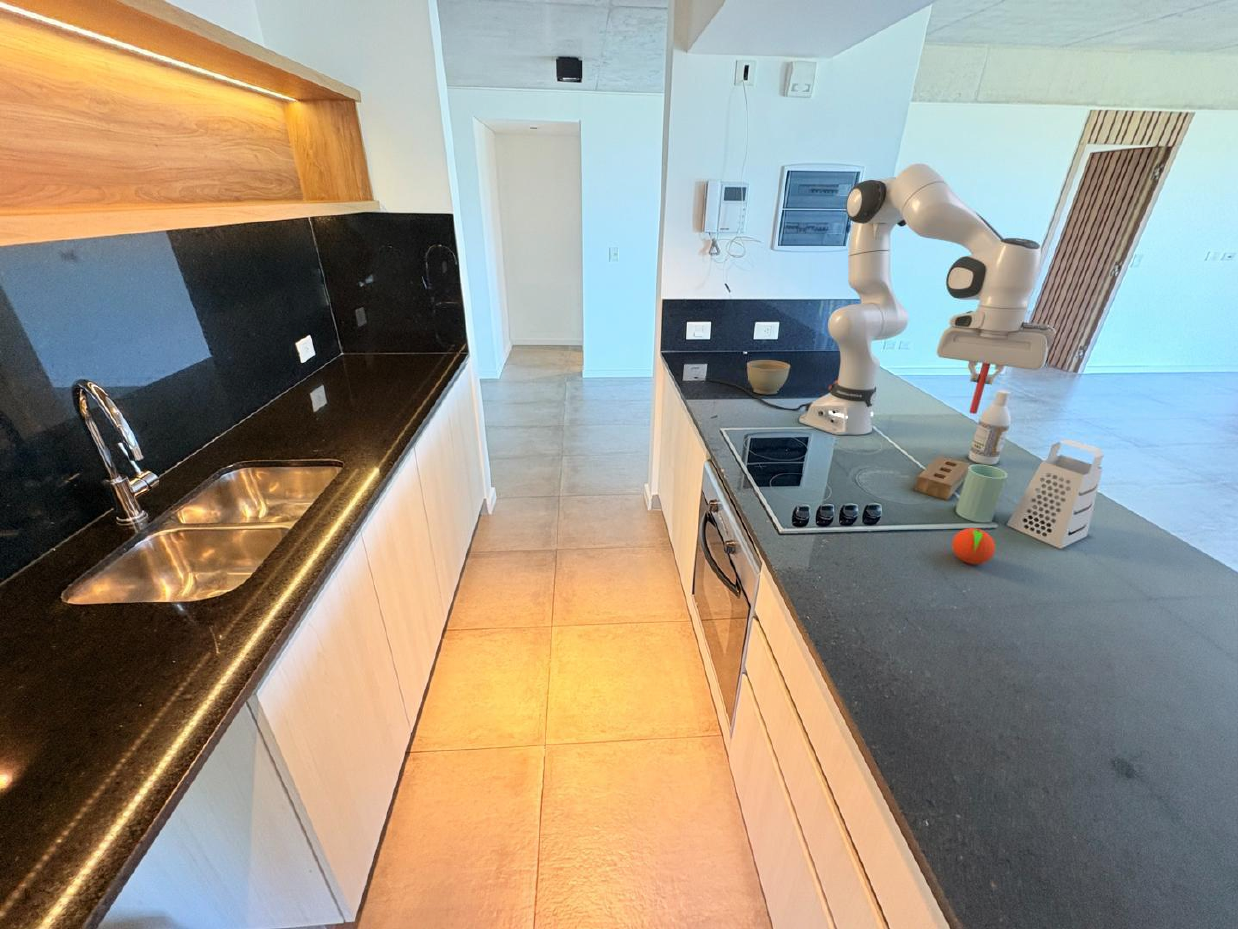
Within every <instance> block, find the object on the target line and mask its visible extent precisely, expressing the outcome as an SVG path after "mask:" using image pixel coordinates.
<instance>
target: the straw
mask: <svg viewBox="0 0 1238 929" xmlns="http://www.w3.org/2000/svg"><path fill="white" fill-rule="evenodd" d="M990 368H991V364H986V363H981V367H980V371H979V374H980V375H979V378H978V382H976V386H975V389H974V394H973V397H972V400H971V404H970V407H969V413H970V414H973V415H976V414H978V411H979V407H980V403H981V399H982V396H983V393H984V389H985V386H986V384H984V383H985V381H986V376H987V375H989V371H990Z"/></svg>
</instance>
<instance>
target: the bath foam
mask: <svg viewBox="0 0 1238 929" xmlns="http://www.w3.org/2000/svg"><path fill="white" fill-rule="evenodd" d="M1010 396H1011V391H1008V390H1004V389H1003V390H1002V389H999V390H997V391H996V393H995V397H994V400H993V403H992V404H991V405H989V407H987V408H986V409H985V410H984V411H983V412H982V414H981V415H980V417H979V419H978V422H977V426H976V429H975V432H974V436H973V438H972V443H971V446H970V449H969V453H968V459H969V460H970V461H972V462H974V463H975V464H980V465H988V466H992V465H993V466H994V465H996V464H997V463H998V462H999V459H1000V457H1001V453H1002V450H1003V447H1004V444H1005V441H1006V439H1007V435H1008V432H1009V429H1010V425H1011V419H1012V418H1011V413H1010V411H1009V408H1008V406H1007V405H1008V403H1009V400H1010Z"/></svg>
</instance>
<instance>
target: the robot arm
mask: <svg viewBox="0 0 1238 929" xmlns="http://www.w3.org/2000/svg"><path fill="white" fill-rule="evenodd" d="M845 210H846V214H847V217H848V219H849V220H850V221H851V222H852V225H851V230H850V235H849V242H848V256H847V257H848V262H847V263H848V264H847V265H848V267H847V268H848V269H847V271H848V274H847V276H848V278H847V279H848V280H847V282H848V285H849V287H850V288H851V289H852V290H854V291H855V292H856V293H857V295H858V297H859V299H860V303H858V304H857V303H856V304H848V305H845V306H842V307H839V308H837V309H835V310H834V311H833V312H832V313H831V314H830V316H829V319H828V320H827V321H828V322H827V330H828V333H829V336H830V337H831V338H832V340H834V342H835V344H837V346H838V350H839V356H840V364H839V372H838V378H837V380H835V381H834V382H833V383H831V384H830V385H829V386H828V387H829V388H828V390H829V393H826V394H825V395H823V396H821V397H819V398H817V399H815V400H814V401H810V402H807V403H803V404H800V405H799V406H798V407H795V408H787V407H783V406H780V405H776V404H772V403H769V402H768V401H765V400H764V399H762V398H760V397H759V396H757V395H755V394H754V393H753V394H752V392H751V391H749V390H748V389H747V388H745V387H743V386H740V385H738V384H735V383H732V382H728V381H724V380H719V381H718V379H713V378H710V379H707V378H708V377H707V378H704V379H705V380H708V381H710V382H714V383H720V384H725V385H729V386H733V387H736V388H738V389H740V390H742V391H744V392H746V393H747V394H749V395H750V396H752V397H753V398H754V399H756V400H757V401H759V402H761V403H763V404H765V405H767V406H769V407H772V408H776V409H779V410H783V411H791V412H793V411H794V412H796V411H800V410H801V409H802V408H803V407H804V408H805V409H804V411H805V413H803V414H801V415H800V416H799V420H798V421H799V423H801V424H804V425H807V426H810V427H812V428H815V429H818V430H822V431H824V432H827V433H829V434H833V435H835V436H836V435H837V436H844V435H854V436H855V435H856V436H857V435H858V436H860V435H866V434H867V435H868V434H869V433H871V432H872V431H873V427H872V426H873V425H872V424H873V423H872V417H873V416H874V412H873V406H874V403H875V399H876V395H877V393H876V392H877V380H878V375H879V370H880V365H881V364H880V360H879V358H878V357H876V356H875V355H874V354H873V352H872V341H883V340H888V339H891V338H894V337H897V336H898V335H899V336H900V335H901V334H902V333H903V332H904V331H905V330H906V328H907V326H908V323H909V314H908V310H907V309H906V307H905V306H903V305H902V304H901V303H900V302H899V300H898V298H897V297H896V294H895V292H894V288H893V285H892V284H893V283H892V281H891V234H892V230H893V229H894V227H895V226H896V225H897V226H899V227H901V228H903V227H904V226H906V225H907V227H908V228H909V229H910V230H911V231H912V232H913V233H915V235H918V236H919V237H921V238H925V239H933V240H938V241H945V242H948V243H953V244H957V245H958V246H959V245H960V246H961V247H964V248H965V249H967V250H968V252H969V253H970V254H968V255H965V256H961V257H959V258H958V259H956V260H955V262H953V264H952V265H951V266H950V267H949V270H948V272H947V275H946V279H945V285H946V290H947V292H948V294H949V295H950V296H951V297H953V298H954V299H958V300H962V301H970V300H971V301H972V300H973V301H975V300H976V301H979V302H978V304H977V308H976V310H969V311H966V312H961V313H957V314H954V315H953V316H951V318H950V319H949V327H947V328H946V329H944V331H943V333H942V335H941V337H940V339H939V342H938V344H937V349H936V355H937V356H938V357H939V358H941V359H942V358H943V359H950V360H957V361H962V362H963V361H964V362H968V365H967V367H968V371H969V373H970V378H969V382H970V383H977V382H978V378H979V375H980V372H978V371H977V370H976V366H978V364H983V363H986V364H990V365H994V370H996V371H994V373H992V374H988V375H987V376H986V381H985V383H984V384H985V385H990V386H992V385H994V383H995V379H996V377H997V376H998V375H999V374H1000V373H1002V371H1003V370H1004V369H1005V367H1010V368H1017V369H1025V370H1031V371H1038V370H1040V369H1042V368H1043V367H1045V364H1046V362H1047V357H1048V352H1049V347H1050V346H1051V345H1053V344H1054V342H1055V338H1056V335H1057V331H1056V330H1055V328H1053V326H1050V325H1049V324H1046V323H1042V324H1041V323H1033V322H1027V321H1026V322H1025V319H1026V315H1027V312H1028V309H1029V297H1030V294H1031V292H1032V290H1033V288H1034V287H1035V284H1036V281H1037V278H1038V274H1039V270H1040V266H1041V259H1042V247H1041V245H1040V244H1039V243H1038V242H1037V241H1035V240H1032V239H1031V240H1030V239H1027V238H1019V237H1005V238H1004V237H1003V236H1002V235H1001V234H1000V233H999V232H998V231H997V230H996V229H995V228H994V227H993V226H992V225H991V224H990V223H989V222H988V221H987V220H986V219H985V218H984V217H982V216H981V215H980V214H979V213H977V211H975V210H974V209H972V208H971V207H970V206H969V205H968V204H966V203H965V202H964V201H963V199H961V198H960V197H959V196H958V195H957V194H956V193H955V191H954V190H953V189H952V188H951V187H950V186H949V184H948V183H947V181H946V180H945V179H944V178H943V177H942V176H941V175H940V173H938V172H937V171H936V170H934V168H932V167H930V166H929V165H927V164H925V163H915V164H911V165H909V166H907V167H905V168H903V170H901V171H900V173H898V175H897V176H891V177H888V178H879V179H867V180H863V181H861V182H858V183H856V184H855V185H854V186H853V187H852V188H851V190H850V191H849V193H848V195H847V197H846V204H845ZM697 378H698V377H695V376H694V378H693V379H697ZM723 381H724V382H723ZM742 387H743V388H742ZM744 388H745V389H744ZM747 390H748V391H747Z"/></svg>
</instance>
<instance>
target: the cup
mask: <svg viewBox="0 0 1238 929" xmlns="http://www.w3.org/2000/svg"><path fill="white" fill-rule="evenodd" d="M1008 475H1009V474H1008V473H1007V472H1006V471H1005V470H1003V469H1001V468H999V467H995V466H992V465H985V464H980V463H975V464H971V465H970V466H969V467H968V471H967V474H966V477H965V480H964V481H963V483H962V487H961V491H960V494H959V497H958V500H957V504H956V509H955V512H956V514H957V515H958V516H960V517H961V518H962V519H965V520H968V521H971V522H975V523H982V524H983V523H984V524H985V523H990V522H992V521H993V519H994V517H995V513H996V511H997V509H998V506H999V502H1000V499H1001V497H1002V493H1003V490H1004V488H1005V485H1006V481H1007V479H1008Z"/></svg>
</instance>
